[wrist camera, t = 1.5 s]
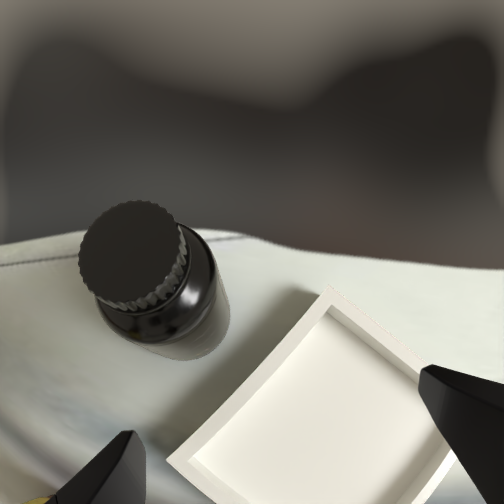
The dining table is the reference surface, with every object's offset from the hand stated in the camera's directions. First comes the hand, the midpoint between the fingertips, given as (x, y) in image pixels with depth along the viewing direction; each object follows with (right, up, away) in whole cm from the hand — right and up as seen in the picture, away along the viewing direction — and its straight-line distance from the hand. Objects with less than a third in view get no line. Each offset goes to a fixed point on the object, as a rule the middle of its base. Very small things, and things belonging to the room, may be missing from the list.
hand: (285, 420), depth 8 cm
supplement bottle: (-6, 0, +15) cm, 16 cm away
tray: (+5, -9, +11) cm, 14 cm away
